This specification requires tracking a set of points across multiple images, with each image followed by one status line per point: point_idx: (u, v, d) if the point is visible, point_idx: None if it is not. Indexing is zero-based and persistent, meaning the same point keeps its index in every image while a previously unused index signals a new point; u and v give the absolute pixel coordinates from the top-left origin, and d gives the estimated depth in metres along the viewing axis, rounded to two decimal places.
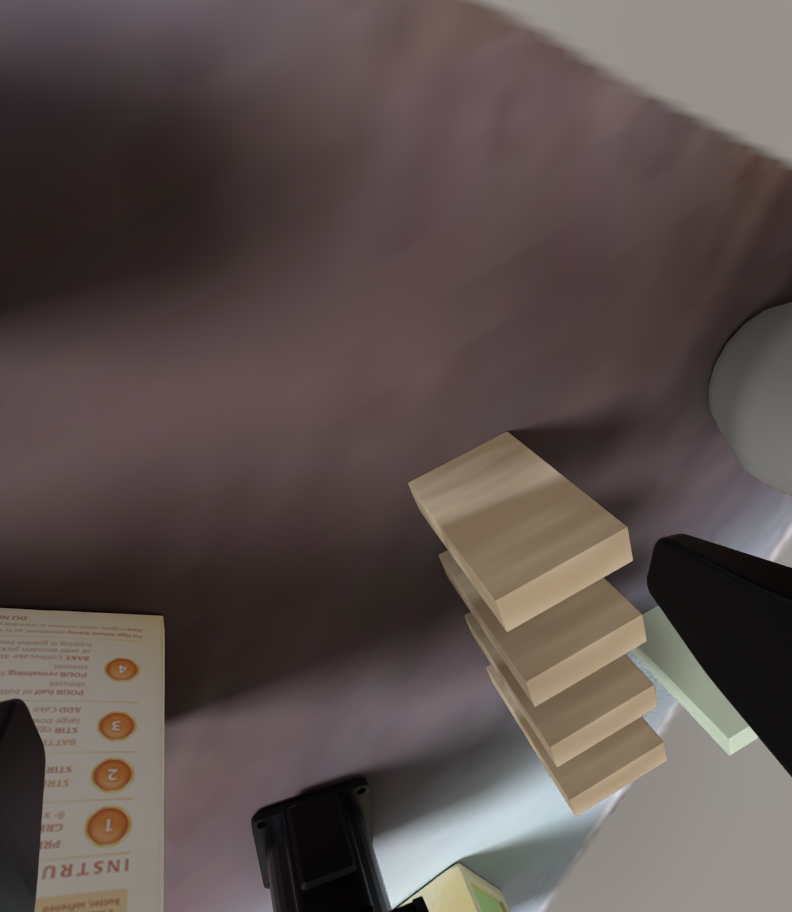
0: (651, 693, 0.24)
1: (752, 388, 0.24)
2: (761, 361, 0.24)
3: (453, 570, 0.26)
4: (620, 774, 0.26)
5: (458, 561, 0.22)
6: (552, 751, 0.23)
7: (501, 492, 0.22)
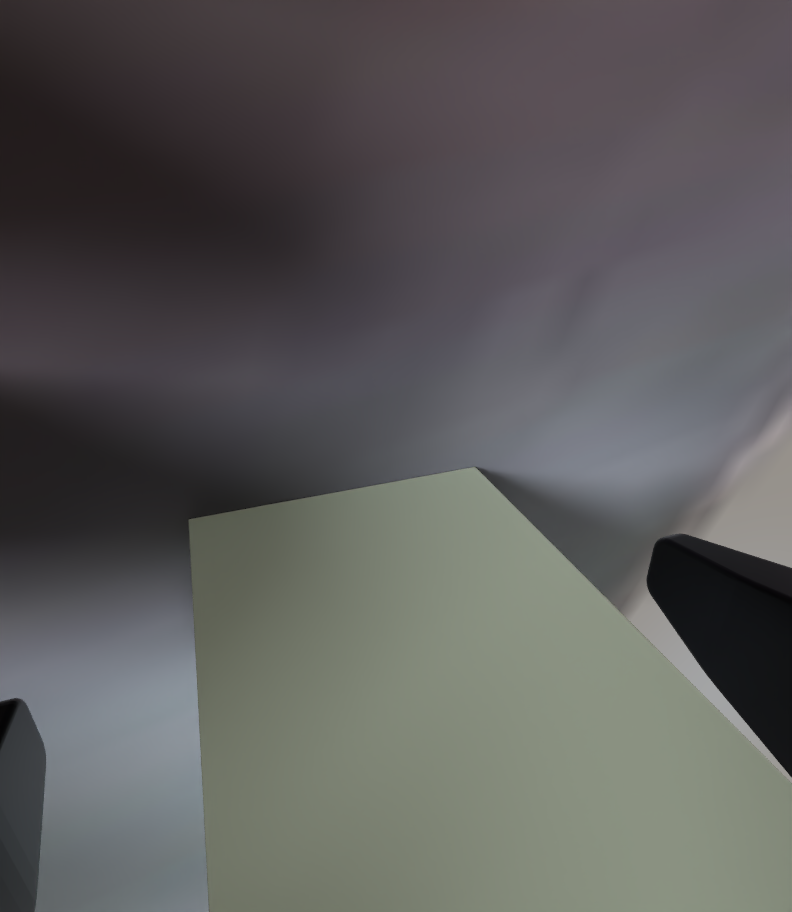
0: None
1: None
2: None
3: None
4: None
5: None
6: None
7: None
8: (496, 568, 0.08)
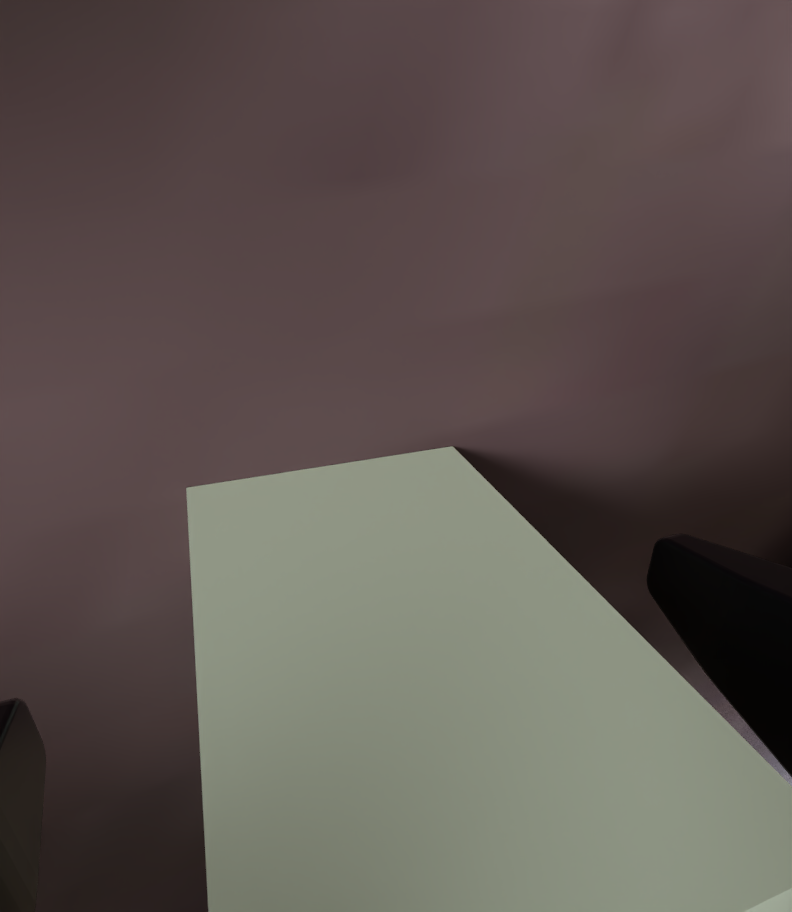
0: None
1: None
2: None
3: None
4: None
5: None
6: None
7: None
8: (465, 530, 0.09)
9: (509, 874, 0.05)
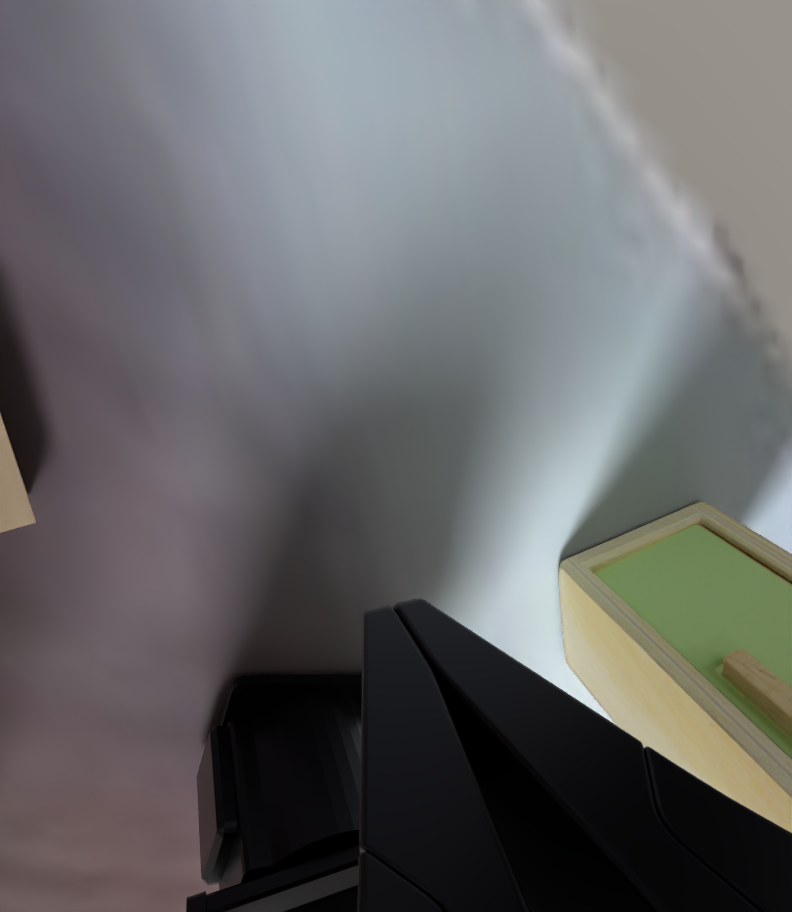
0: None
1: None
2: None
3: None
4: None
5: None
6: None
7: None
8: None
9: None
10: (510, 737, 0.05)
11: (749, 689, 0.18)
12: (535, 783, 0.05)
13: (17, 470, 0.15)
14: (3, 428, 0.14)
